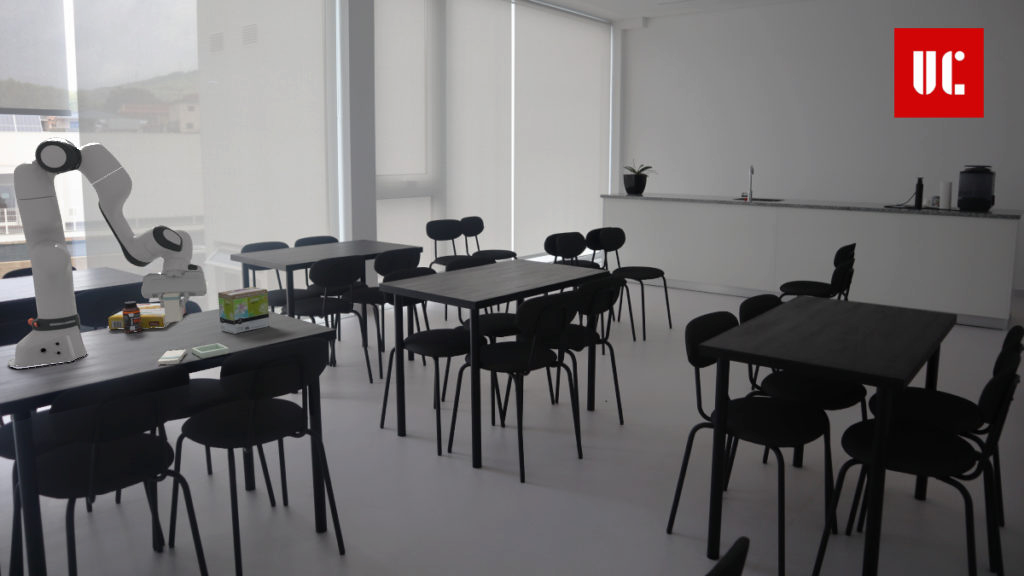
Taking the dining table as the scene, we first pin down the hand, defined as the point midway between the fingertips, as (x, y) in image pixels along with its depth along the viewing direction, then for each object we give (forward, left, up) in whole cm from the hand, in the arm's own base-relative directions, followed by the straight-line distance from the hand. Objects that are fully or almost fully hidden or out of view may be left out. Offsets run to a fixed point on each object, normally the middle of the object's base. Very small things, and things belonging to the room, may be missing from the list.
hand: (172, 306), depth 256 cm
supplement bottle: (-1, +44, -16) cm, 46 cm away
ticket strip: (-4, -7, -16) cm, 18 cm away
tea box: (+31, +17, -16) cm, 38 cm away
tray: (+8, -9, -16) cm, 20 cm away
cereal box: (+9, +58, -16) cm, 60 cm away
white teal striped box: (0, +1, -5) cm, 5 cm away
